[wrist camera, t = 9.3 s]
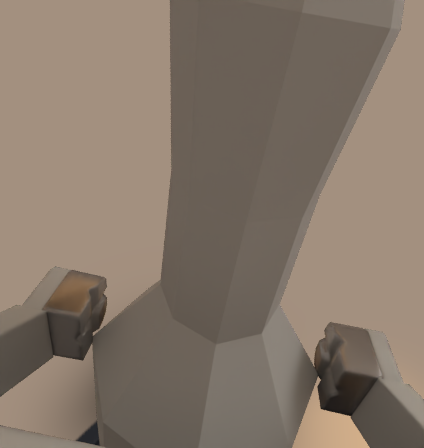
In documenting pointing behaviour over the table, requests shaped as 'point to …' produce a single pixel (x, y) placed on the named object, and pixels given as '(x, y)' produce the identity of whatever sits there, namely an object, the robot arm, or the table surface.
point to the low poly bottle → (238, 220)
